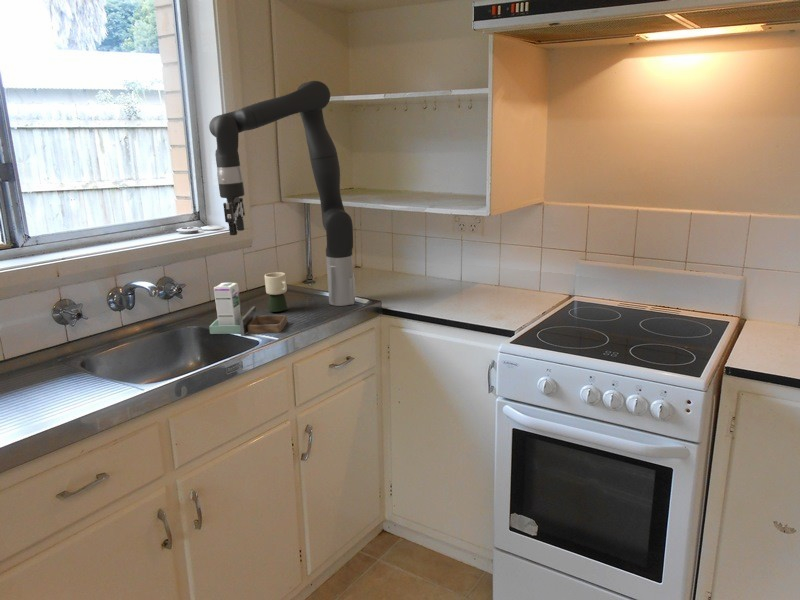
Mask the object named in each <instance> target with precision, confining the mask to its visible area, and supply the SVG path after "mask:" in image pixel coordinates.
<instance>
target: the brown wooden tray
mask: <svg viewBox="0 0 800 600" xmlns="http://www.w3.org/2000/svg"><path fill="white" fill-rule="evenodd" d="M287 316H288V315H257V316H256V317H255V318H254V319H253V320H252V321H251V322H250V323H249V324H248V332H247V334H275V333H276V334H281V332H282V331H283V329H284V328H285V326H286V325H287V323H288V319H287Z"/></svg>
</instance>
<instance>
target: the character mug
mask: <svg viewBox="0 0 800 600" xmlns="http://www.w3.org/2000/svg"><path fill="white" fill-rule="evenodd" d="M264 286H265V292H266V294H268V295H269V297H268V311H269V312H271V313H274V312H275V313H277V312H281V313H282V311H287V310H288V303H287V300H286V296H285V293H286V292H287V290H288V287H287V277H286V273H285V272H280V271H279V272H278V271H276V272H269V273H265V274H264Z"/></svg>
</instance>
